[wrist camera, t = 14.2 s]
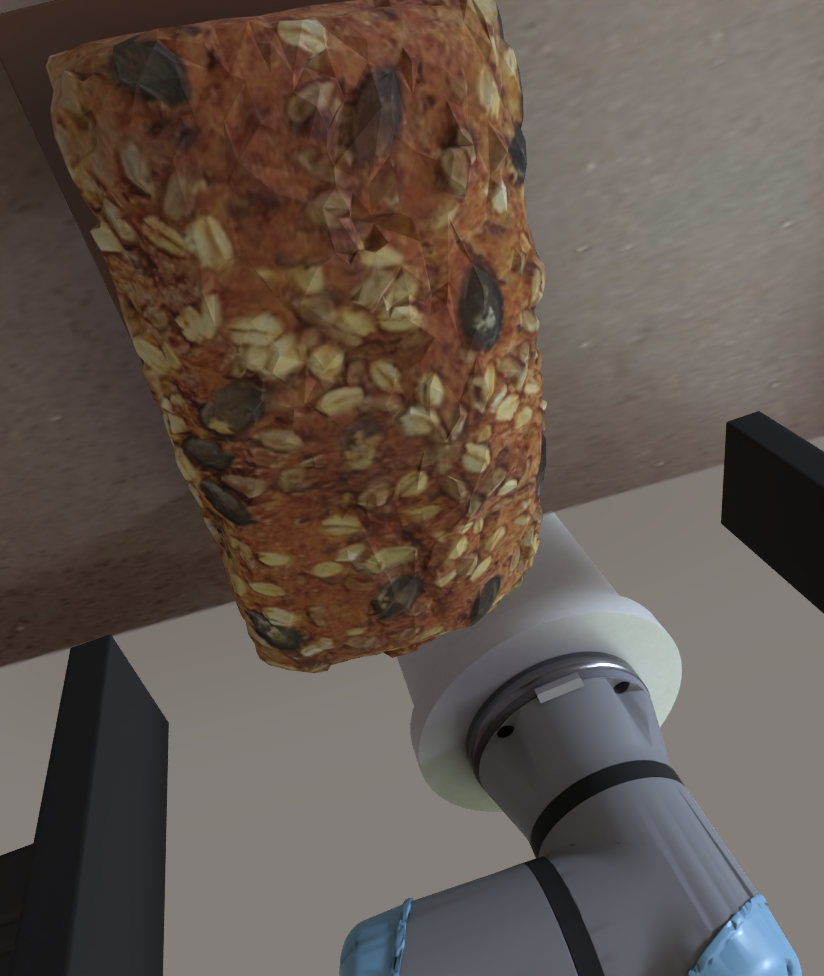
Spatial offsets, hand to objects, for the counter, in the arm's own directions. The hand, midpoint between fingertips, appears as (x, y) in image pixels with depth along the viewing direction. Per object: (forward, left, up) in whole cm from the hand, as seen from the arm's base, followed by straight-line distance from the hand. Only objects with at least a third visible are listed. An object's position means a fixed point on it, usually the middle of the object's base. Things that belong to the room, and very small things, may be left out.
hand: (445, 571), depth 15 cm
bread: (+1, 0, -14) cm, 14 cm away
